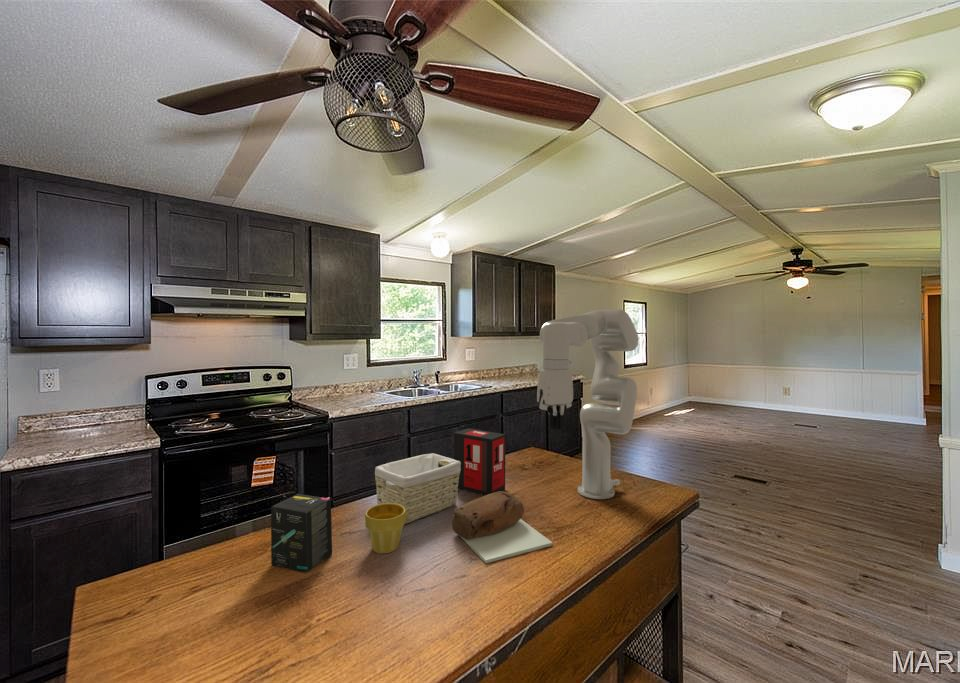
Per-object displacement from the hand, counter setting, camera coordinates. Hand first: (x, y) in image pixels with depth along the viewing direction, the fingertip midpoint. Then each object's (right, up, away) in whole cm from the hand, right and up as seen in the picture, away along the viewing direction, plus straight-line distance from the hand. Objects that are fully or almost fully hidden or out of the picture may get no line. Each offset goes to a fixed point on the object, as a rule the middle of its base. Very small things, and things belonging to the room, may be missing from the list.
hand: (555, 428), depth 124 cm
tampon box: (-66, -29, -18) cm, 74 cm away
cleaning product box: (-22, -28, +31) cm, 47 cm away
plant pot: (-47, -29, -12) cm, 56 cm away
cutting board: (-15, -29, -7) cm, 34 cm away
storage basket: (-41, -29, +13) cm, 52 cm away
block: (-12, -24, +5) cm, 27 cm away
